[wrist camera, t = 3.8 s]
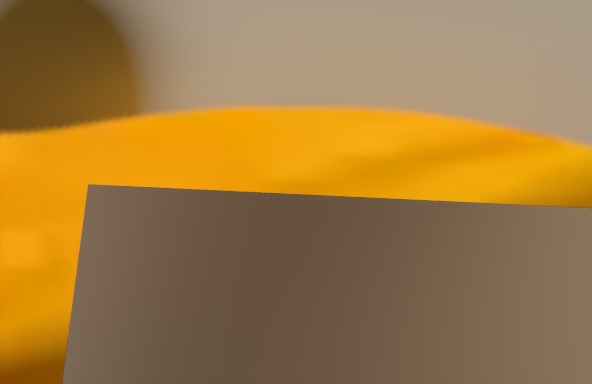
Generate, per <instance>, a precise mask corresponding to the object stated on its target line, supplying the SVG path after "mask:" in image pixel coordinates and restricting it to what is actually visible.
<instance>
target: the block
mask: <svg viewBox="0 0 592 384" xmlns="http://www.w3.org/2000/svg"><path fill="white" fill-rule="evenodd" d="M62 384H592V208H578V207H557V206H535V205H514V204H493V203H472V202H451V201H429V200H408V199H387V198H366V197H344V196H323V195H302V194H281V193H260V192H238V191H217V190H196V189H175V188H154V187H132V186H111V185H90V184H88V191H87V198H86V206H85V214H84V221H83V229H82V236H81V244H80V251H79V259H78V266H77V274H76V282H75V289H74V297H73V304H72V312H71V319H70V327H69V335H68V342H67V350H66V357H65V365H64V372H63V380H62Z"/></svg>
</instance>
